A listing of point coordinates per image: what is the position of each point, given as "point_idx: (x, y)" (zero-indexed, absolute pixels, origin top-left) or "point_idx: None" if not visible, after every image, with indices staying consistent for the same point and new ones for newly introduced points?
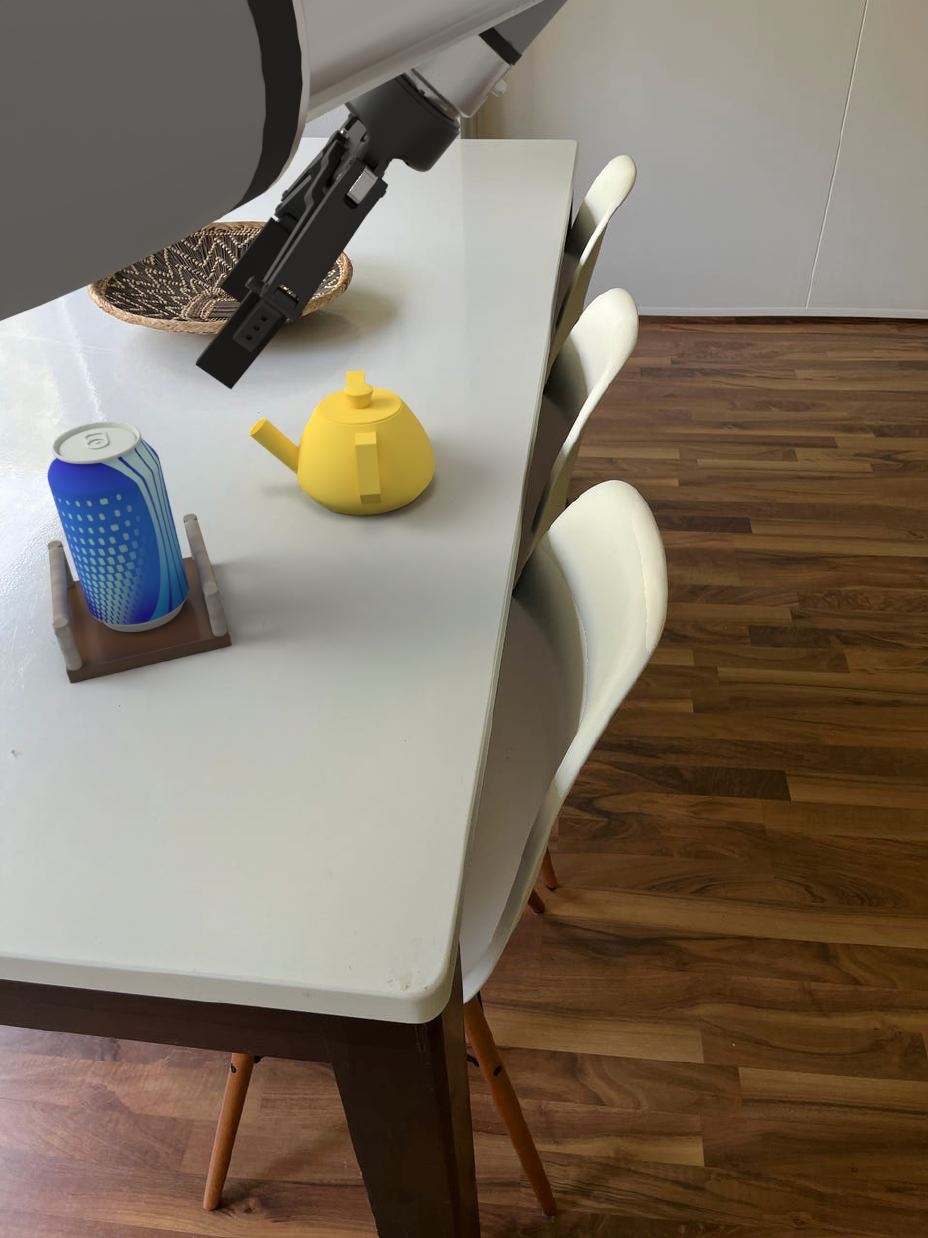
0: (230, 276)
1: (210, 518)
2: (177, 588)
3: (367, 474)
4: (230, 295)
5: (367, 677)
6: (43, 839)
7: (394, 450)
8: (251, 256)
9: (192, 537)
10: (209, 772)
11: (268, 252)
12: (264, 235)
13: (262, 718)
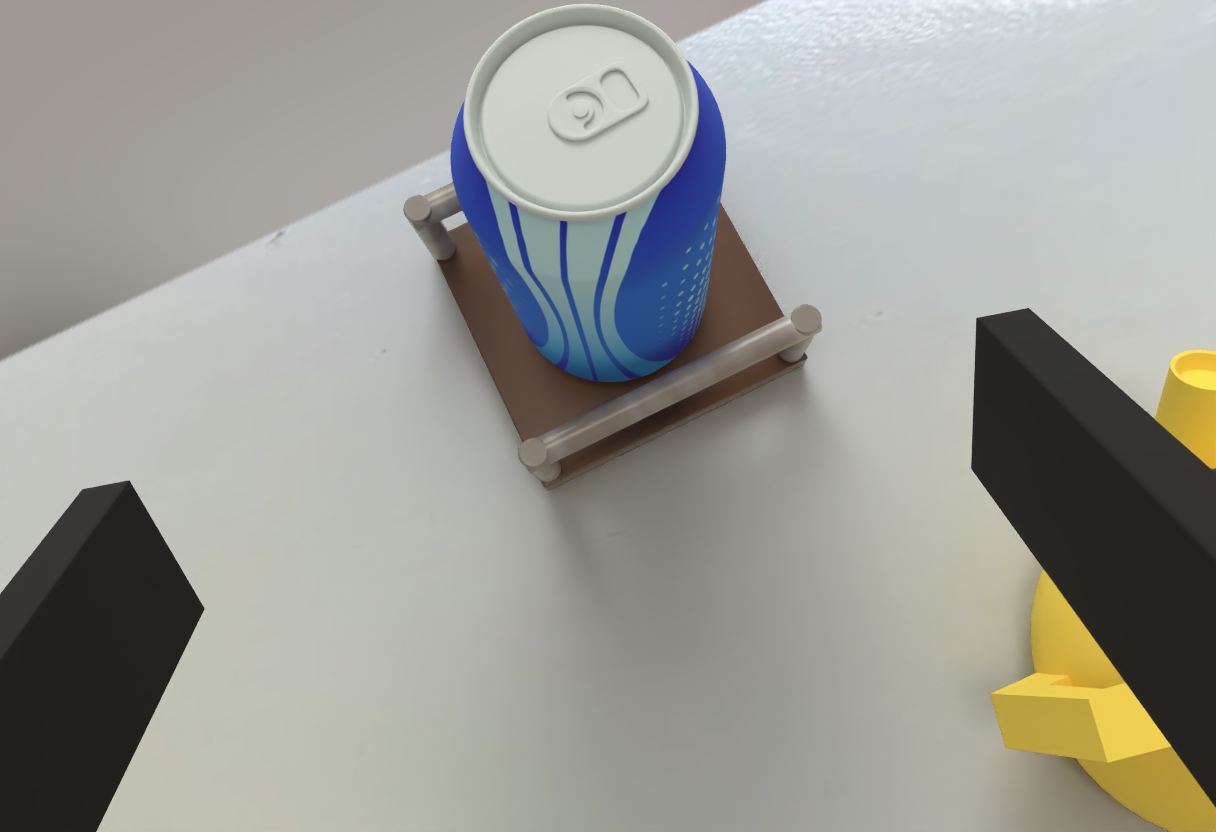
0: (1013, 366)
1: (979, 315)
2: (584, 369)
3: (1033, 721)
4: (975, 374)
5: (469, 773)
6: (112, 351)
7: (1183, 780)
8: (1099, 483)
9: (724, 351)
10: (234, 547)
11: (1143, 596)
12: (1203, 585)
13: (356, 600)
